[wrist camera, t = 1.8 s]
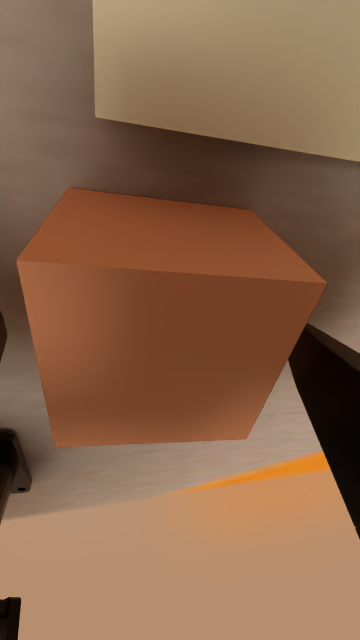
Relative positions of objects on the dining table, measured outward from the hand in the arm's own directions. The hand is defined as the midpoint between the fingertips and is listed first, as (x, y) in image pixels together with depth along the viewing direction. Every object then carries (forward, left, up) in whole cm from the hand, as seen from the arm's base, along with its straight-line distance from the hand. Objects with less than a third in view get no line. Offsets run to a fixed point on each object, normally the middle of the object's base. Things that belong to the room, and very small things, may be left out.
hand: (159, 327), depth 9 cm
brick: (0, 0, -3) cm, 3 cm away
